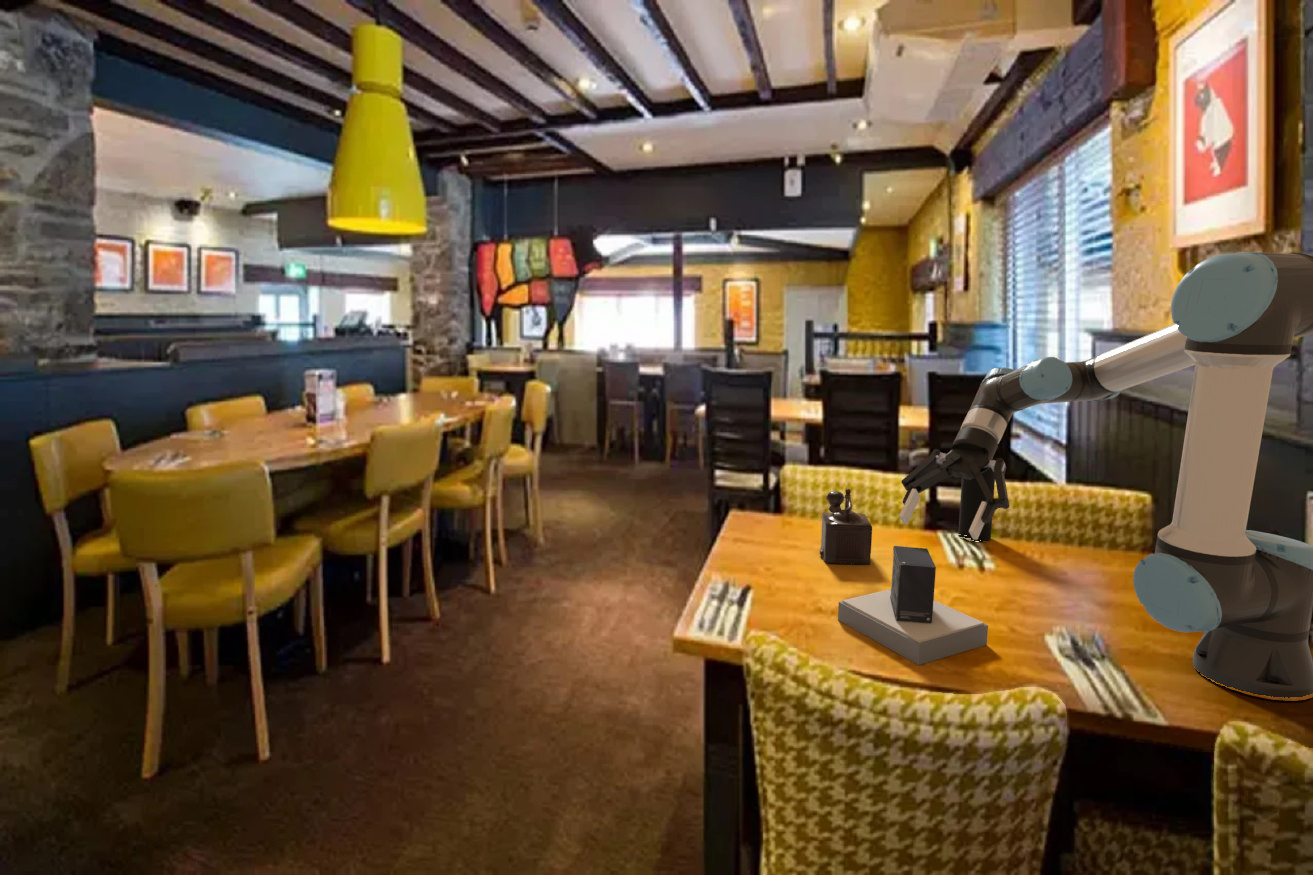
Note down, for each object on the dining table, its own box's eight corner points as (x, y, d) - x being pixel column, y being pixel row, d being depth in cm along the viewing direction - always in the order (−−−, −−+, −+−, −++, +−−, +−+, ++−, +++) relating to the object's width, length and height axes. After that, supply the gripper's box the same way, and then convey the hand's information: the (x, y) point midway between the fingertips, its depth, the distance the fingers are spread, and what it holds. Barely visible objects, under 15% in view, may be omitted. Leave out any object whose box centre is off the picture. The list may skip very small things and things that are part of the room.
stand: (986, 644, 127) (988, 623, 127) (918, 665, 121) (919, 642, 120) (901, 604, 145) (902, 584, 144) (838, 620, 138) (838, 599, 138)
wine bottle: (956, 539, 184) (963, 421, 179) (959, 531, 191) (967, 417, 186) (989, 543, 181) (998, 423, 176) (991, 535, 187) (999, 419, 182)
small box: (934, 624, 126) (938, 566, 125) (895, 621, 128) (898, 564, 126) (925, 600, 137) (928, 546, 135) (889, 598, 138) (891, 544, 136)
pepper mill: (817, 549, 178) (819, 477, 175) (863, 550, 177) (866, 477, 174) (824, 572, 163) (827, 493, 160) (875, 573, 162) (879, 494, 159)
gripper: (1051, 457, 136) (1010, 553, 129) (925, 441, 154) (883, 524, 147) (1041, 432, 131) (999, 531, 124) (913, 419, 150) (869, 503, 143)
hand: (936, 527), depth 136 cm, fingers open, 13 cm apart
